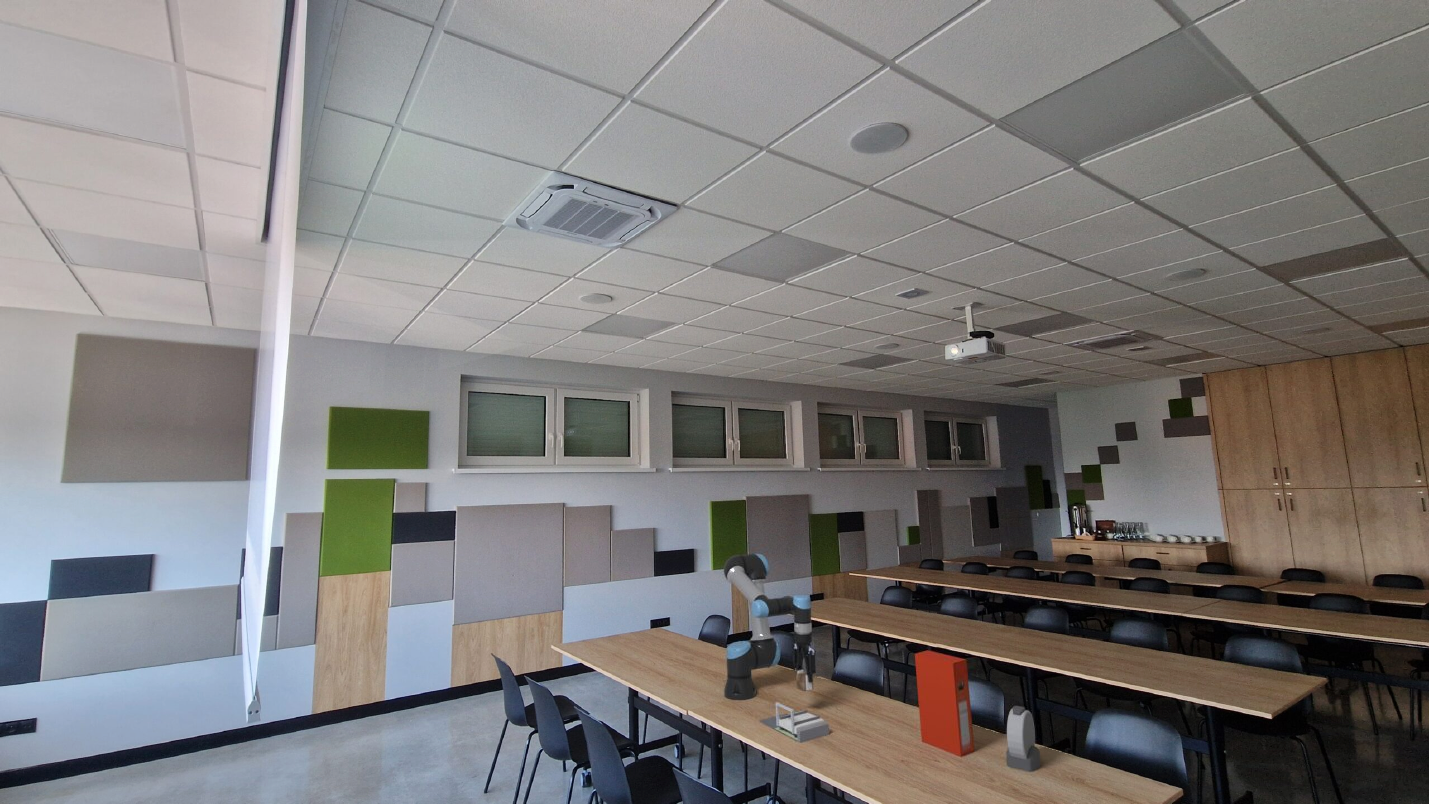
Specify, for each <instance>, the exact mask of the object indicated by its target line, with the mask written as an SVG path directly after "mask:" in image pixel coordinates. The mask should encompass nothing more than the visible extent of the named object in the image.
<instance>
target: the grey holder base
mask: <svg viewBox="0 0 1429 804" xmlns="http://www.w3.org/2000/svg"><path fill="white" fill-rule="evenodd" d="M785 715H789V714H788V713H783V714H779V717H781V716H785ZM758 722H759V723H762V724H763V725H765V726H767V727H770V728H771V729H773V730H775V731H777V732H779V733H781V734H782V735H785V737H789V738H790V739H792V740H794V741H796V742H798V743H799V744H800V743H805V742H808V741H811V740H814V739H819V738H822V737H824V736H829V735H830V729H829V727H830V726H829V723H828V722H824V723H822V724H819V725H815V726H811V727H808V728H804V729H801V730H797V737H795V736H794V734H792V732H791V731H789V730H787V729H784V730H781V729H780V726H777V725H776V715H775V716H772V717H768V718H764V719H759V720H758Z"/></svg>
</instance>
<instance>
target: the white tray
mask: <svg viewBox="0 0 1429 804" xmlns="http://www.w3.org/2000/svg"><path fill="white" fill-rule="evenodd" d="M779 707H780V708H782V709H784V710H787V711H788V712H790V714H789V715H785V716H781V717H779V715H780V712H779V711H780V710H779ZM775 716H776V725H777V726H780V729H781V730H784V729H787V730H789V731H791V732H792V734H794V736H795V737H797V730H801V729H804V728H808V727H811V726H815V725H819V724H822V723H825V719H822V718H821V716H819V715H817V716H816V715H814V714H811V713H809V712H808V710H807V709H805V710H801V711H797V712H795V710H794V709H793V708H791V707H789V706H787V705H784V704H782V703H780V702H777V701H776V702H775Z"/></svg>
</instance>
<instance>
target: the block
mask: <svg viewBox="0 0 1429 804" xmlns="http://www.w3.org/2000/svg"><path fill="white" fill-rule="evenodd" d="M806 673H807V671H803V673H798V674H797V673H796V674H795V675H796V689H798V690H800V691H802V692H806V691H807V690H806ZM812 680H813V681H812V690H811V691H813V690H814V674H812ZM809 691H810V690H808V691H807V692H809Z"/></svg>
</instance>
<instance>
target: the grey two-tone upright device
mask: <svg viewBox="0 0 1429 804" xmlns="http://www.w3.org/2000/svg"><path fill="white" fill-rule="evenodd" d="M1006 722H1007V723H1006V740H1007V749H1006V752H1005V755H1006V766H1007V767H1008V768H1010V769H1011V768H1012V769H1016V770H1019V771H1023V772H1028V773H1033V772H1036V771H1037V770H1038V769H1039V768H1040V767H1041V764H1042V763H1041V762H1042V761H1041V755H1040V749H1039V748H1038V747H1037V746H1035V745H1036V734H1035V733H1036V731H1035V724H1034V718H1033V715H1032V713H1031V712H1030V710H1028V709H1026V706H1025V707H1024V706H1021V705H1013V707H1012V708H1011V709H1010V711H1009V714H1008V717H1007V721H1006Z"/></svg>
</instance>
